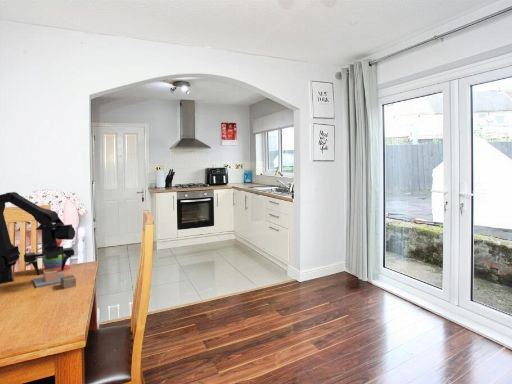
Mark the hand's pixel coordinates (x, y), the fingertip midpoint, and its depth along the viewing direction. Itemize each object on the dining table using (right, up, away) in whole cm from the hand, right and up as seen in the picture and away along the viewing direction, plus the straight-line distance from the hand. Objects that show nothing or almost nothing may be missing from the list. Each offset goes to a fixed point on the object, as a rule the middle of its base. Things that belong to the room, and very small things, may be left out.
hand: (50, 273), depth 144 cm
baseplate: (0, -4, 0) cm, 4 cm away
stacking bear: (-8, -3, +15) cm, 17 cm away
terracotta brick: (0, -3, 0) cm, 3 cm away
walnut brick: (+11, -4, -5) cm, 13 cm away
